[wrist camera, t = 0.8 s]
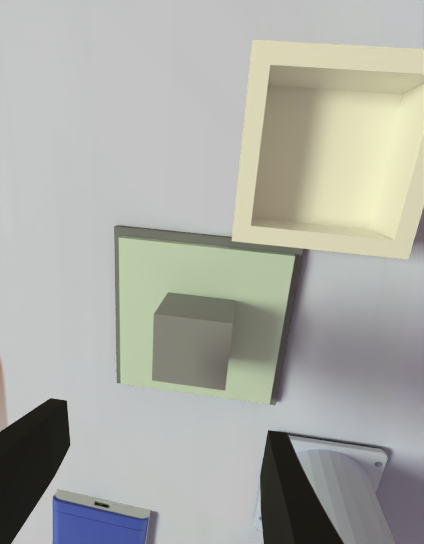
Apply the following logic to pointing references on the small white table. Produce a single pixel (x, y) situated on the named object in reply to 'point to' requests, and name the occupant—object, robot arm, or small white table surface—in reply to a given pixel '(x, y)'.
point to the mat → (216, 241)
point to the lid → (201, 317)
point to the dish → (332, 148)
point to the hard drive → (97, 521)
